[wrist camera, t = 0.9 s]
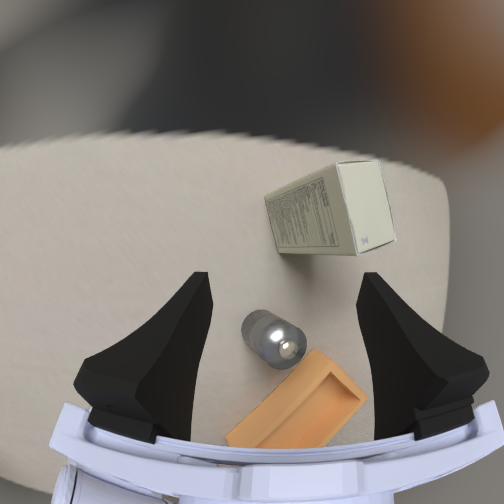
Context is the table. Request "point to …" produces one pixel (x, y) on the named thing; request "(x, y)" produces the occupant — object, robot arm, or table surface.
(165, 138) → the table surface
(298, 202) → the skincare box
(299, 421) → the trough
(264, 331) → the cell
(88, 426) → the robot arm
